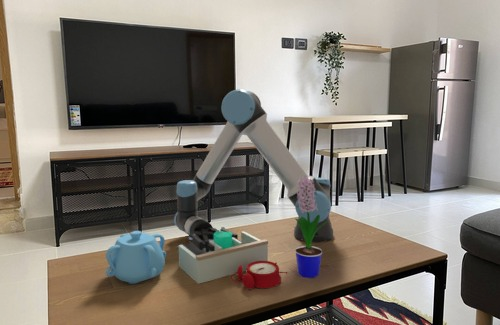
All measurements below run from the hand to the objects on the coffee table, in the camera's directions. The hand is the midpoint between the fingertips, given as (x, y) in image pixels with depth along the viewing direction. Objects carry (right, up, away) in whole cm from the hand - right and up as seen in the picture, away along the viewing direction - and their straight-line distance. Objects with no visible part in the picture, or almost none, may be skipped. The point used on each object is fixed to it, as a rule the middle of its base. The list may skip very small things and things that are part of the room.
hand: (231, 249), depth 115 cm
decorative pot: (-28, -8, -1) cm, 29 cm away
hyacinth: (+24, -7, -1) cm, 25 cm away
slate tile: (-11, -4, +18) cm, 21 cm away
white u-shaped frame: (-3, -6, +5) cm, 9 cm away
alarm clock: (+8, -8, -6) cm, 13 cm away
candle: (-3, -6, +5) cm, 9 cm away
